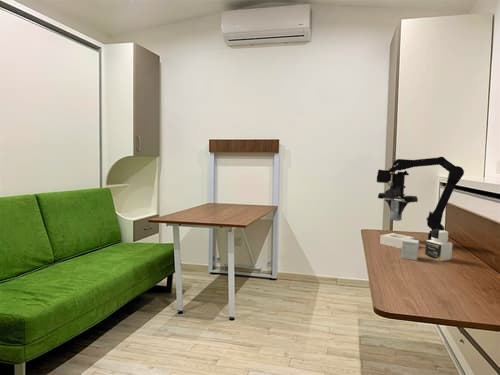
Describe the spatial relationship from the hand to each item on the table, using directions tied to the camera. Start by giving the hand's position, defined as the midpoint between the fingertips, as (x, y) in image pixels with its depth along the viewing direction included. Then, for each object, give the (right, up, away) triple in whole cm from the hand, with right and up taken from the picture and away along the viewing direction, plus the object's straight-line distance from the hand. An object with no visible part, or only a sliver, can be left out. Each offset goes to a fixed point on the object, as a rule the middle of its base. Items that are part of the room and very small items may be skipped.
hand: (396, 214), depth 179 cm
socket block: (-4, -14, -11) cm, 18 cm away
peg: (0, -3, 0) cm, 3 cm away
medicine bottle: (+4, -16, -33) cm, 37 cm away
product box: (-9, -16, -34) cm, 38 cm away
